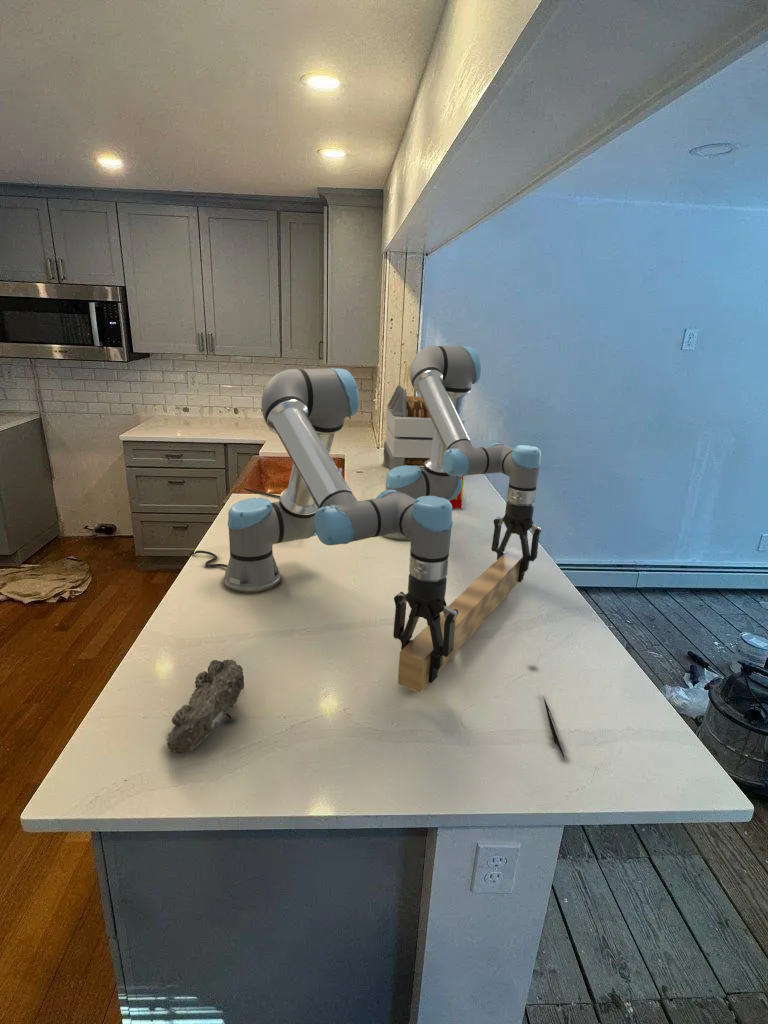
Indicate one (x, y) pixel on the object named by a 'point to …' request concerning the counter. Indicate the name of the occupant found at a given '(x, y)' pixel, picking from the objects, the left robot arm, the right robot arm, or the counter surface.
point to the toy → (457, 498)
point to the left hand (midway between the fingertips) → (420, 674)
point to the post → (461, 618)
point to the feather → (553, 727)
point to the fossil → (206, 705)
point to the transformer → (407, 431)
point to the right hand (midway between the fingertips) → (510, 577)
